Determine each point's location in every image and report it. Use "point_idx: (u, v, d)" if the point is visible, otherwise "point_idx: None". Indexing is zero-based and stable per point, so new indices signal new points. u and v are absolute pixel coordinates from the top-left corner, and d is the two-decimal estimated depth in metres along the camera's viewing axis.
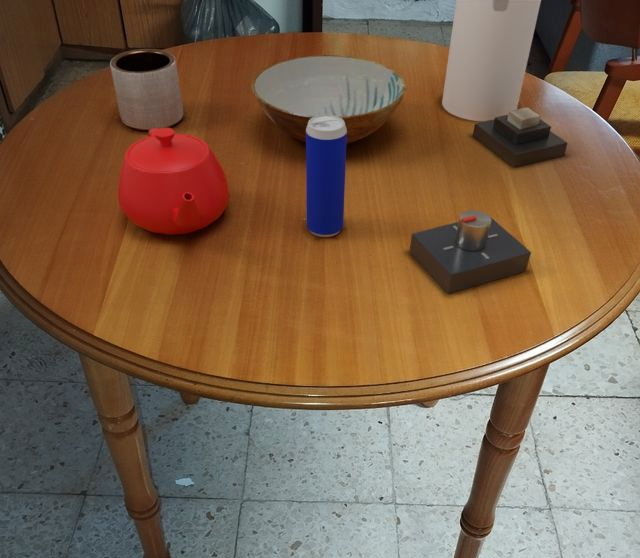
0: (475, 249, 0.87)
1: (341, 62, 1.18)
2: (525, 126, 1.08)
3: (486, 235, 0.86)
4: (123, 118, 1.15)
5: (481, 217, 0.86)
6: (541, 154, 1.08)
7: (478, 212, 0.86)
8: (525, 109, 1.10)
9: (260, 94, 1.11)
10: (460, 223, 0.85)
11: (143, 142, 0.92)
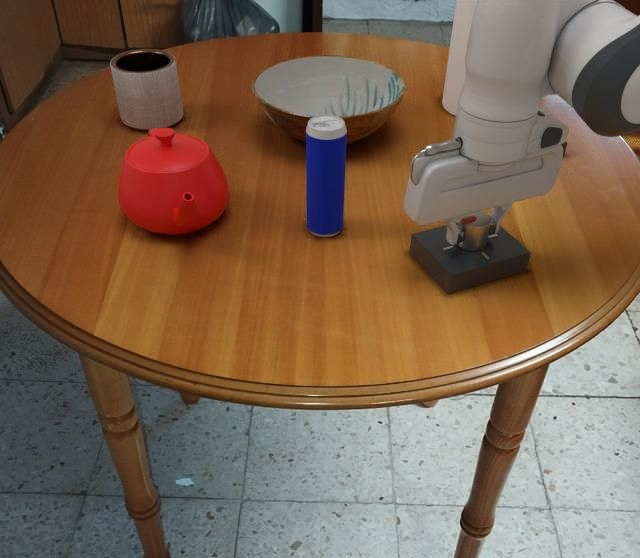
0: (475, 249, 0.87)
1: (341, 62, 1.18)
2: None
3: (486, 235, 0.86)
4: (123, 118, 1.15)
5: (481, 217, 0.86)
6: None
7: (478, 212, 0.86)
8: None
9: (260, 94, 1.11)
10: (460, 223, 0.85)
11: (143, 142, 0.92)
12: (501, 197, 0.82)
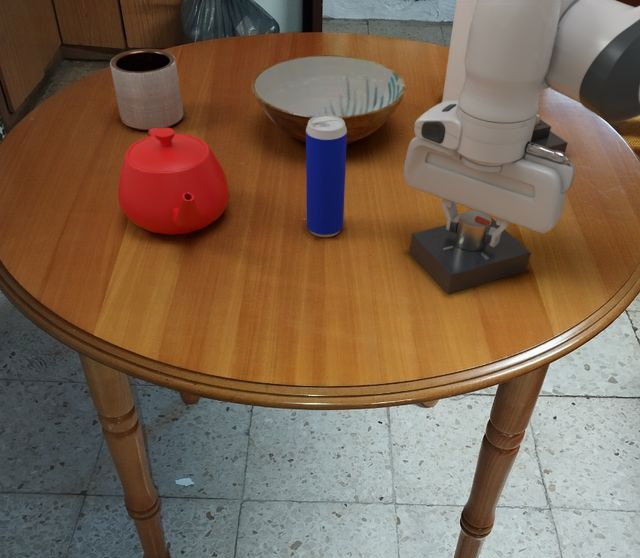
0: None
1: (341, 62, 1.18)
2: None
3: None
4: (123, 118, 1.15)
5: (470, 215, 0.86)
6: None
7: (463, 218, 0.85)
8: None
9: (260, 94, 1.11)
10: (486, 227, 0.85)
11: (143, 142, 0.92)
12: None
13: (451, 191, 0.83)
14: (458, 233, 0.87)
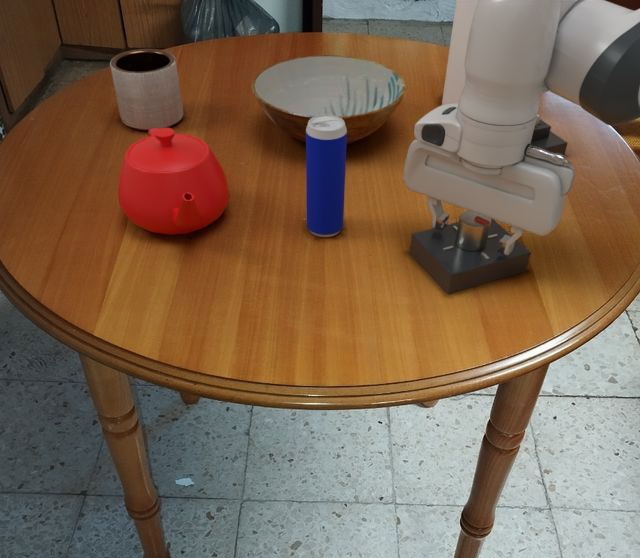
0: None
1: (341, 62, 1.18)
2: None
3: None
4: (123, 118, 1.15)
5: (470, 215, 0.86)
6: None
7: (463, 218, 0.85)
8: None
9: (260, 94, 1.11)
10: (486, 228, 0.85)
11: (143, 142, 0.92)
12: None
13: (450, 194, 0.83)
14: (458, 233, 0.87)
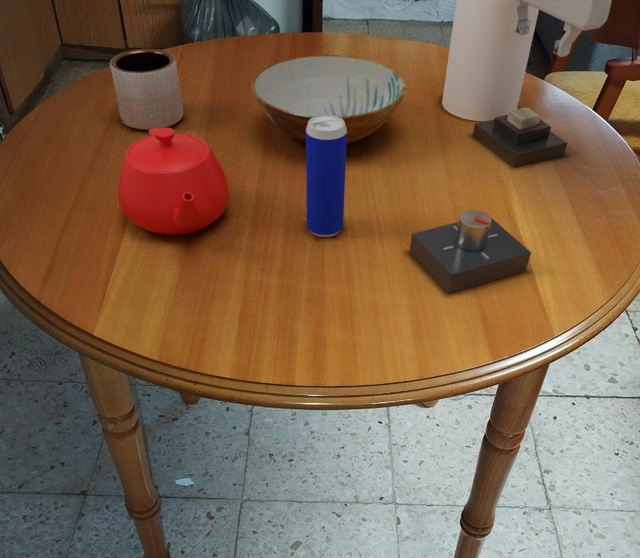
0: None
1: (341, 62, 1.18)
2: (525, 126, 1.08)
3: None
4: (123, 118, 1.15)
5: (470, 215, 0.86)
6: (541, 154, 1.08)
7: (463, 218, 0.85)
8: (525, 109, 1.10)
9: (260, 94, 1.11)
10: (486, 228, 0.85)
11: (143, 142, 0.92)
12: None
13: None
14: (458, 233, 0.87)
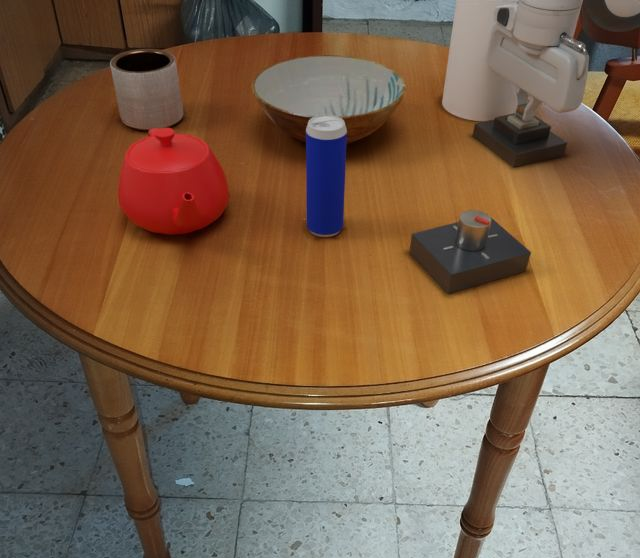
0: None
1: (341, 62, 1.18)
2: None
3: None
4: (123, 118, 1.15)
5: (470, 215, 0.86)
6: (541, 154, 1.08)
7: (463, 218, 0.85)
8: None
9: (260, 94, 1.11)
10: (486, 228, 0.85)
11: (143, 142, 0.92)
12: None
13: (511, 72, 1.06)
14: (458, 233, 0.87)
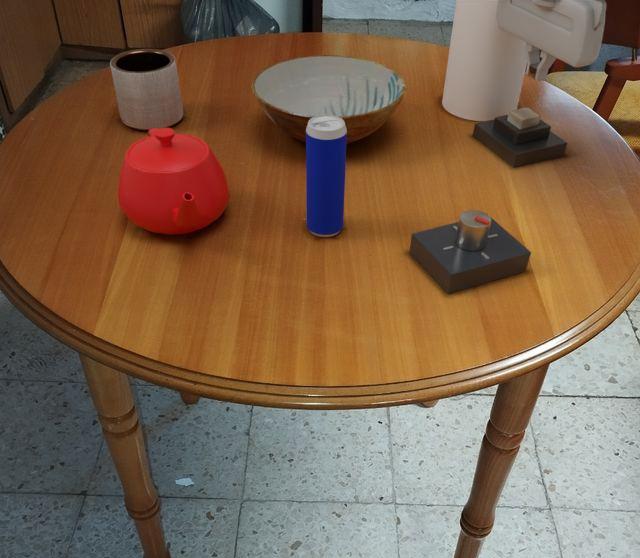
0: None
1: (341, 62, 1.18)
2: (525, 126, 1.08)
3: None
4: (123, 118, 1.15)
5: (470, 215, 0.86)
6: (541, 154, 1.08)
7: (463, 218, 0.85)
8: (525, 109, 1.10)
9: (260, 94, 1.11)
10: (486, 228, 0.85)
11: (143, 142, 0.92)
12: None
13: (522, 29, 1.01)
14: (458, 233, 0.87)
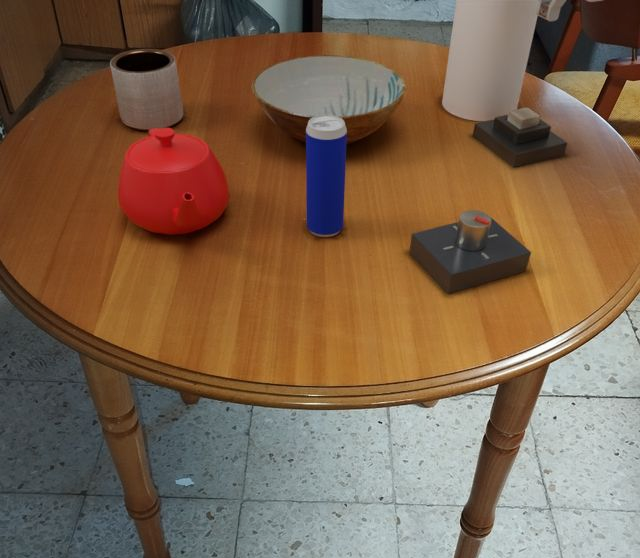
0: None
1: (341, 62, 1.18)
2: (525, 126, 1.08)
3: None
4: (123, 118, 1.15)
5: (470, 215, 0.86)
6: (541, 154, 1.08)
7: (463, 218, 0.85)
8: (525, 109, 1.10)
9: (260, 94, 1.11)
10: (486, 228, 0.85)
11: (143, 142, 0.92)
12: None
13: None
14: (458, 233, 0.87)
